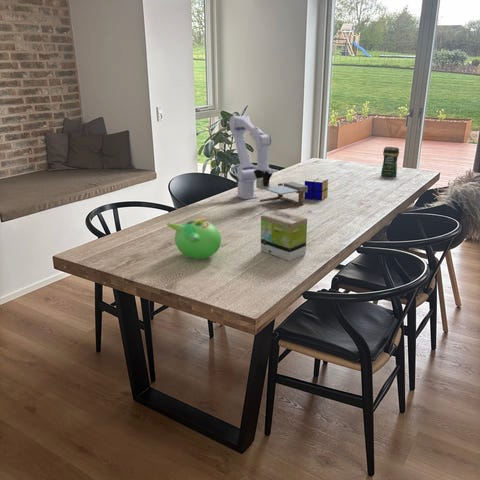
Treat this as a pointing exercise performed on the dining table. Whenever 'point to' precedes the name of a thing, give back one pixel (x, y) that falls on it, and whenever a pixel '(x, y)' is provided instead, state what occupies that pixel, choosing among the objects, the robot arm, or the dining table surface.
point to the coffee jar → (390, 161)
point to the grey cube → (261, 184)
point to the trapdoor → (288, 188)
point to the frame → (300, 202)
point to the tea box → (283, 235)
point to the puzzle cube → (316, 189)
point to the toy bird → (197, 238)
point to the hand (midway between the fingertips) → (262, 185)
